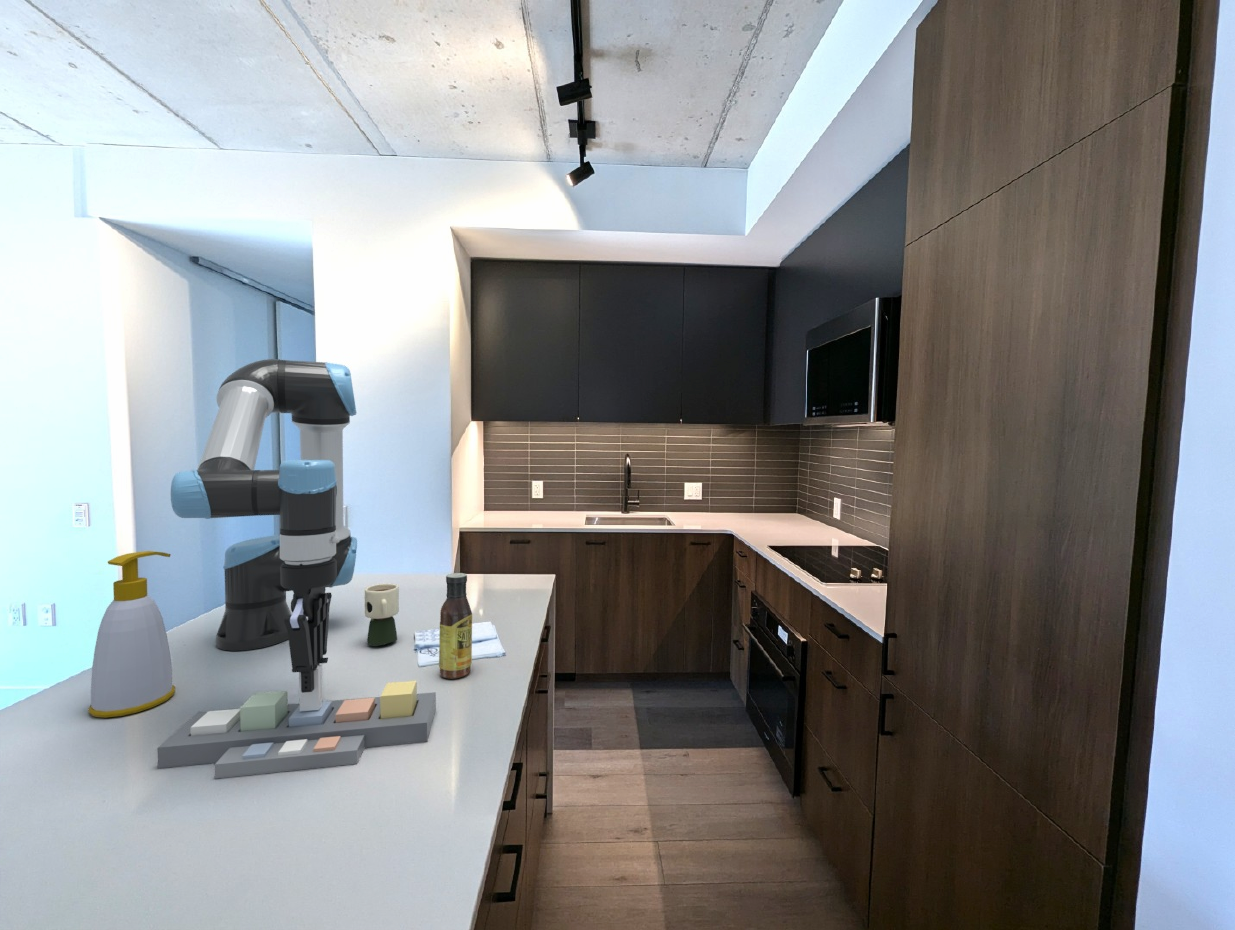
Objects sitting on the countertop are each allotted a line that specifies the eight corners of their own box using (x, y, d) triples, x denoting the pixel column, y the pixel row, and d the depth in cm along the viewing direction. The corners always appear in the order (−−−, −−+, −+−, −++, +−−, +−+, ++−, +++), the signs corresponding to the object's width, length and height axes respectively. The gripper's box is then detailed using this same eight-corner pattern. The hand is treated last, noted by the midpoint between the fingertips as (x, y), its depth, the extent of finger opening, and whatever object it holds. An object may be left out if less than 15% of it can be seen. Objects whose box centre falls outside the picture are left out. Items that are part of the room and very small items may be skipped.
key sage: (255, 717, 82) (254, 693, 82) (287, 715, 83) (287, 690, 83) (240, 733, 78) (240, 707, 78) (275, 730, 79) (274, 704, 79)
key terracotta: (344, 724, 85) (344, 700, 85) (375, 721, 86) (374, 697, 86) (335, 739, 81) (335, 714, 80) (367, 736, 81) (367, 711, 81)
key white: (208, 736, 81) (208, 711, 81) (242, 733, 82) (241, 708, 82) (191, 753, 77) (190, 727, 76) (226, 750, 78) (226, 724, 77)
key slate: (300, 728, 84) (300, 703, 84) (332, 725, 85) (331, 701, 84) (289, 744, 79) (288, 718, 79) (322, 741, 80) (321, 715, 80)
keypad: (199, 730, 83) (198, 711, 83) (435, 709, 91) (435, 692, 90) (138, 786, 69) (137, 764, 69) (422, 756, 77) (422, 736, 77)
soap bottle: (192, 693, 95) (189, 550, 94) (114, 725, 84) (109, 564, 83) (152, 683, 99) (148, 546, 98) (72, 712, 88) (67, 558, 87)
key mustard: (387, 706, 86) (387, 682, 86) (416, 704, 87) (416, 680, 87) (380, 721, 82) (380, 696, 82) (411, 718, 83) (411, 693, 83)
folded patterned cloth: (494, 627, 132) (494, 619, 132) (506, 659, 113) (506, 649, 113) (413, 637, 125) (413, 628, 125) (412, 672, 106) (412, 661, 106)
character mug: (363, 638, 122) (362, 583, 122) (396, 633, 126) (395, 579, 125) (367, 654, 113) (366, 595, 112) (402, 648, 117) (401, 591, 116)
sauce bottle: (462, 682, 101) (462, 580, 100) (432, 678, 102) (432, 578, 101) (477, 667, 107) (477, 572, 106) (449, 664, 108) (449, 570, 108)
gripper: (320, 568, 75) (322, 728, 76) (348, 550, 88) (349, 687, 89) (262, 570, 74) (265, 733, 75) (298, 551, 86) (300, 690, 87)
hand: (311, 708), depth 82 cm, fingers closed
